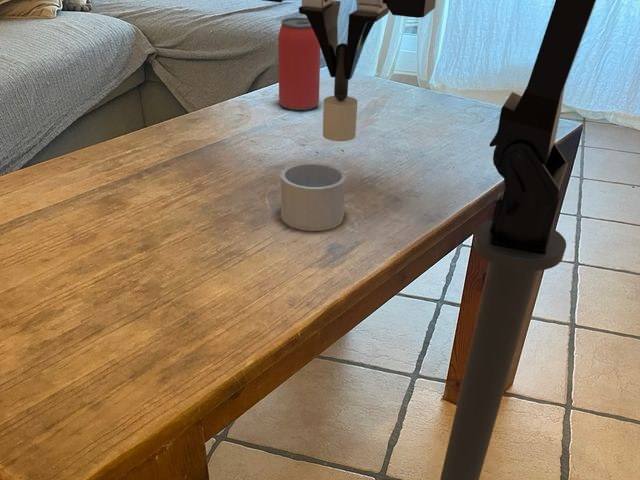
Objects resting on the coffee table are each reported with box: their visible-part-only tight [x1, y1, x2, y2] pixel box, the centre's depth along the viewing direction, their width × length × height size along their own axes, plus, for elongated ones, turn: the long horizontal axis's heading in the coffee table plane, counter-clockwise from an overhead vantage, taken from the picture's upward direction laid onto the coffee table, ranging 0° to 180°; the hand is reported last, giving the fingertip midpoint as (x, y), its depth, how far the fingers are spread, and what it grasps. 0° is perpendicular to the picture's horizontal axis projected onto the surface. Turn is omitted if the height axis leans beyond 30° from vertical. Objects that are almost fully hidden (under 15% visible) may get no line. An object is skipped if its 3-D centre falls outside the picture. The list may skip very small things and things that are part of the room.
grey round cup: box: [280, 162, 347, 232], centre depth 77 cm, size 7×7×5 cm
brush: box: [322, 42, 358, 142], centre depth 77 cm, size 4×4×10 cm
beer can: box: [277, 17, 321, 111], centre depth 105 cm, size 7×7×12 cm
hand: (341, 77), depth 76 cm, fingers closed on brush
